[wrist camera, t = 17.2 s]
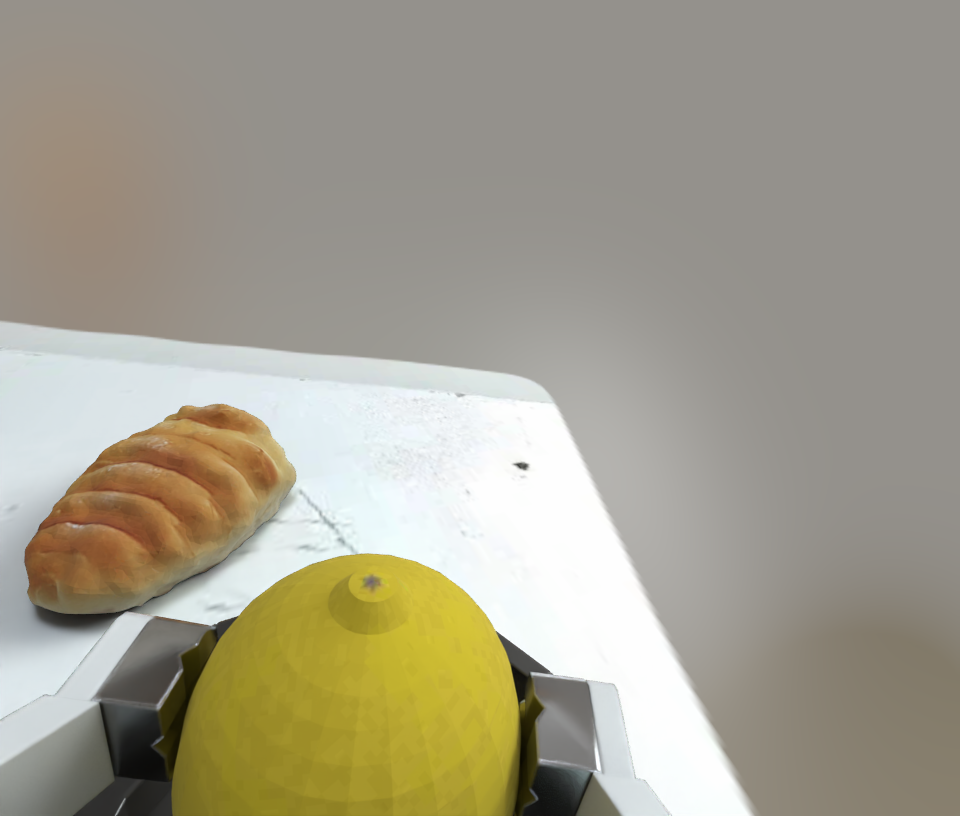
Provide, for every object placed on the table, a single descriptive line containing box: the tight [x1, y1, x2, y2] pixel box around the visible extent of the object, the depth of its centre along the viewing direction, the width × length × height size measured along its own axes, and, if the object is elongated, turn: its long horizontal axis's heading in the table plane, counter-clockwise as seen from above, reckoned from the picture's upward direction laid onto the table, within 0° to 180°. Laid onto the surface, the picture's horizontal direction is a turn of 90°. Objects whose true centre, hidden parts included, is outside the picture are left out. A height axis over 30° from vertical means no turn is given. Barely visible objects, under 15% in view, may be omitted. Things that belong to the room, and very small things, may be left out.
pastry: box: [24, 404, 296, 614], centre depth 21 cm, size 9×7×4 cm
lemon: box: [171, 554, 521, 816], centre depth 10 cm, size 6×6×8 cm
